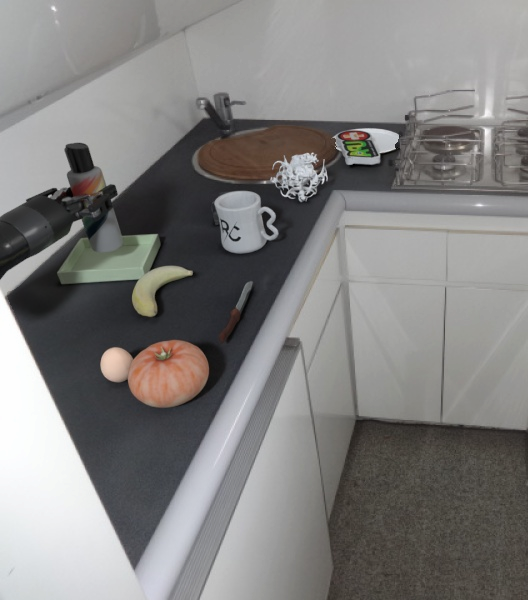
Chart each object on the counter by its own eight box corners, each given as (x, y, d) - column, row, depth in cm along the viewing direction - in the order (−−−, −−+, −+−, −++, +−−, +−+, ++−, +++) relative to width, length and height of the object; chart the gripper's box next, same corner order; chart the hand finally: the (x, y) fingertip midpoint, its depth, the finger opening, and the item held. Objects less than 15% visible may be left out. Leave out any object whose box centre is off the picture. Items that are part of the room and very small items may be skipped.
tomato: (119, 400, 83) (103, 358, 79) (180, 359, 91) (169, 318, 86) (168, 432, 78) (154, 389, 74) (229, 385, 86) (219, 344, 81)
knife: (249, 286, 108) (247, 272, 106) (257, 286, 108) (255, 272, 106) (218, 350, 93) (214, 335, 91) (227, 350, 93) (224, 335, 91)
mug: (214, 252, 118) (204, 207, 112) (235, 231, 125) (227, 188, 119) (271, 259, 115) (264, 214, 110) (289, 238, 123) (283, 194, 117)
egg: (128, 365, 90) (118, 336, 86) (144, 377, 87) (134, 348, 84) (101, 380, 87) (89, 350, 84) (116, 393, 85) (104, 364, 81)
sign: (382, 157, 150) (344, 159, 148) (382, 163, 151) (344, 166, 149) (368, 129, 167) (334, 131, 166) (368, 135, 169) (334, 137, 167)
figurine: (335, 152, 135) (334, 202, 138) (298, 146, 144) (298, 192, 148) (289, 154, 126) (290, 206, 130) (253, 146, 136) (254, 196, 140)
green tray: (61, 284, 108) (56, 272, 107) (84, 248, 119) (80, 238, 117) (146, 278, 110) (142, 267, 108) (160, 244, 120) (158, 233, 119)
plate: (329, 158, 158) (329, 154, 157) (331, 132, 175) (331, 128, 174) (406, 156, 159) (406, 152, 158) (400, 131, 176) (400, 127, 175)
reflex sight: (236, 203, 136) (232, 183, 133) (233, 222, 128) (228, 201, 125) (219, 205, 136) (214, 185, 133) (214, 224, 127) (209, 203, 124)
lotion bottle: (91, 242, 113) (57, 141, 102) (122, 236, 115) (92, 137, 104) (92, 255, 109) (56, 152, 97) (124, 249, 111) (93, 147, 99)
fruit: (117, 318, 100) (112, 302, 98) (159, 271, 112) (155, 256, 110) (157, 322, 99) (152, 306, 97) (195, 274, 111) (191, 259, 109)
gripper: (61, 211, 90) (128, 171, 104) (-15, 202, 93) (60, 164, 107) (76, 253, 95) (139, 210, 108) (3, 243, 98) (73, 202, 111)
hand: (99, 187), depth 108 cm, fingers closed on lotion bottle, 5 cm apart
